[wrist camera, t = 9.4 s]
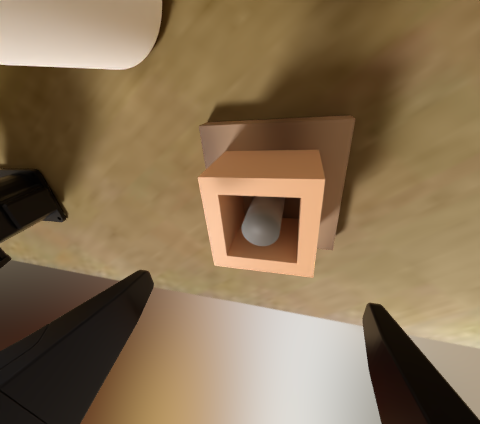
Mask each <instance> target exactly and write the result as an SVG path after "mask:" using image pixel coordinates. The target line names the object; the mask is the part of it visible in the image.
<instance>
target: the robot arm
mask: <svg viewBox="0 0 480 424" xmlns="http://www.w3.org/2000/svg"><path fill="white" fill-rule="evenodd" d="M65 220H66V217H65V215H64V213H63V212H62V210H61V208H60V206H59V205H58V203H57V201H56V199H55V198H54V196H53V194H52V192H51V191H50V189H49V187H48V185H47V184H46V182H45V180H44V178H43V176H42V175H41V173H40V172H39V171H38V170H36V169H0V243H2V242H3V241H5V240H7V239H9V238H11V237H13V236H14V235H16V234H18V233H20V232H22V231H24V230H25V229H27V228H29V227H31V226H33V225H34V224H36V223H38V222H40V221H54V222H63V221H65ZM10 260H11V257H10V256H9V255H7V254H6V253H5V252H4V251H3V250H2V249H1V248H0V268H1V267H3V266H4V265H5V264H6V263H7V262H8V261H10ZM153 286H154V283H153V280H152V278H151V275H150V273H149V272H148V271H146V270H138V271H137V272H135V273H133V274H131V275H130V276H128V277H126V278H125V279H123V280H121V281H120V282H118V283H116V284H115V285H113V286H111V287H110V288H108V289H106V290H105V291H103V292H101V293H100V294H98V295H96V296H95V297H93V298H91V299H89V300H88V301H86V302H84V303H83V304H81V305H79V306H78V307H76V308H74V309H73V310H71V311H69V312H68V313H66V314H64V315H63V316H61V317H59V318H58V319H56V320H54V321H52V322H51V323H50V324H47V325H46V326H44V327H42V328H41V329H39V330H37V331H36V332H34V333H32V334H31V335H29V336H27V337H26V338H24V339H22V340H20V341H18V342H16V343H14V344H13V345H11V346H9V347H7V348H6V349H4V350H2V351H0V424H80V423H81V421H82V420H83V418H84V416H85V414H86V412H87V411H88V409H89V407H90V406H91V404H92V402H93V400H94V398H95V397H96V395H97V393H98V391H99V390H100V388H101V386H102V384H103V382H104V380H105V379H106V377H107V375H108V374H109V372H110V370H111V368H112V366H113V365H114V363H115V361H116V359H117V357H118V356H119V354H120V352H121V351H122V349H123V347H124V345H125V344H126V342H127V340H128V338H129V336H130V335H131V333H132V331H133V329H134V328H135V326H136V324H137V322H138V320H139V318H140V316H141V314H142V311H143V309H144V307H145V305H146V303H147V300H148V298H149V296H150V294H151V292H152V289H153ZM363 329H364V337H365V345H366V352H367V359H368V367H369V372H370V377H371V381H372V385H373V389H374V394H375V398H376V402H377V406H378V411H379V415H380V419H381V423H382V424H480V420H479V419H478V417H477V416H476V415H475V414H474V413H473V412H472V410H471V409H470V408H469V407H468V406H467V404H466V403H465V402H464V401H463V400H462V399H461V397H460V396H459V395H458V394H457V393H456V392H455V390H454V389H453V388H452V387H451V386H450V385H449V383H448V382H447V381H446V380H445V379H444V377H443V376H442V375H441V374H440V373H439V372H438V370H436V368H435V367H434V366H433V365H432V364H431V362H430V361H429V360H428V359H427V358H426V356H425V355H424V354H423V353H422V352H421V351H420V349H419V348H418V347H417V346H416V345H415V344H414V342H413V341H412V340H411V339H410V338H409V336H408V335H407V334H406V333H405V332H404V331H403V329H402V328H401V327H400V326H399V325H398V323H397V322H396V321H395V320H394V319H393V318H392V316H391V315H390V314H389V313H388V312H387V311H386V309H385V308H384V307H383V306H382V305H380V304H375V303H368V304H367V306H366V309H365V312H364V315H363Z"/></svg>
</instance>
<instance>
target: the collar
mask: <svg viewBox="0 0 480 424" xmlns="http://www.w3.org/2000/svg"><path fill="white" fill-rule="evenodd" d="M198 181H199V186H200V192H201V197H202V202H203V207H204V213H205V218H206V223H207V229H208V234H209V239H210V244H211V250H212V255H213V260H214V265H215V266H223V267H231V268H239V269H247V270H255V271H263V272H272V273H280V274H288V275H296V276H304V277H312V278H313V275H314V267H315V258H316V250H317V242H318V234H319V226H320V218H321V210H322V202H323V194H324V186H325V176H324V171H323V166H322V161H321V157H320V152H319V150H268V151H225V152H224V153H223V154H222V155H221V156H220V157H219V158H218V159H217V160H216V161H214V162H213V163H212V164H211V165H210V166H209V167H208V168H207V169H206V170H205V171H204V172H203V173H202V174H201V175H200V176H199V177H198ZM243 196H266V197H292V198H300V206H299V219H293V218H282V222H281V228H280V234H279V238H278V239H277V241H276V242H275V243H273V244H271V245H268V246H257V245H254V244H252V243H250V242H249V241H248V240H247V239H246V238H245V237H244V236H243V234H242V223H243V221H244V219H245V216H244V207H243Z"/></svg>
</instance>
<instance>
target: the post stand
mask: <svg viewBox="0 0 480 424" xmlns="http://www.w3.org/2000/svg"><path fill="white" fill-rule="evenodd" d="M354 124H355V118H354V117H352V116H351V115H346V116H326V117H306V118H285V119H265V120H245V121H225V122H207V123H204V124H202V125H200V126H199V130H200V136H201V142H202V148H203V154H204V160H205V166H206V169H207V168H208V167H209V166H210V165H211V164H212V163H213V162H214V161H216V160H217V159H218V158H219V157H220V156H221V155H222V154H223V153H224V152H225V151H268V150H319V152H320V157H321V161H322V166H323V171H324V176H325V186H324V194H323V202H322V210H321V218H320V226H319V234H318V242H317V249H326V250H333V246H334V240H335V234H336V229H337V223H338V217H339V211H340V205H341V200H342V194H343V188H344V182H345V176H346V171H347V165H348V159H349V153H350V147H351V142H352V136H353V130H354ZM299 206H300V198H292V197H266V196H243V207H244V216H245V219H244V221H243V223H242V234H243V236H244V237H245V238H246V239H247V240H248V241H249V242H250V243H252V244H254V245H257V246H268V245H271V244H273V243H275V242H276V241H277V239H278V238H279V234H280V228H281V222H282V218H293V219H299Z"/></svg>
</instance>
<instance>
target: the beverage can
mask: <svg viewBox="0 0 480 424" xmlns="http://www.w3.org/2000/svg"><path fill="white" fill-rule="evenodd" d="M161 17H162V0H0V65H20V66H44V67H68V68H93V69H128V68H131V67H134V66H136V65H137V64H139V63H140V62H142V61H143V60H144V59H145V58H146V57H147V55H148V54H149V53H150V51H151V50H152V48H153V46H154V44H155V42H156V39H157V36H158V33H159V29H160V24H161Z"/></svg>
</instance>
